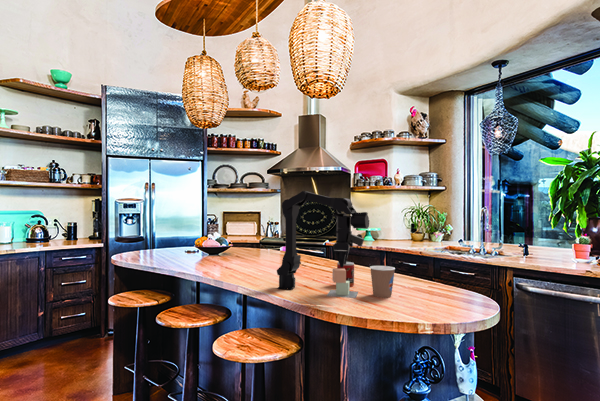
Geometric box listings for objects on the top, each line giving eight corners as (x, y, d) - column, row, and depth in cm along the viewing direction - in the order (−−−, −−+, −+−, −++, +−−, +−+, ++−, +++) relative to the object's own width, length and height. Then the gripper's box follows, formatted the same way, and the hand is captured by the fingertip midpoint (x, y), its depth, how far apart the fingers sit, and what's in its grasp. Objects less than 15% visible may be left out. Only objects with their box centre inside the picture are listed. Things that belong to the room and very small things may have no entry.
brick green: (335, 294, 151) (336, 282, 151) (337, 292, 156) (337, 280, 156) (348, 295, 150) (348, 283, 150) (349, 292, 154) (349, 280, 155)
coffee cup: (395, 300, 145) (396, 270, 145) (369, 298, 147) (369, 268, 147) (394, 294, 155) (394, 266, 155) (369, 293, 157) (369, 265, 157)
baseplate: (326, 297, 148) (326, 295, 148) (330, 291, 160) (330, 289, 160) (356, 299, 145) (356, 298, 145) (358, 293, 157) (358, 291, 157)
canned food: (348, 289, 165) (349, 264, 165) (333, 286, 170) (334, 262, 170) (357, 286, 171) (357, 262, 171) (342, 284, 176) (342, 261, 176)
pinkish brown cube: (333, 282, 150) (333, 270, 150) (332, 280, 155) (332, 268, 155) (345, 282, 150) (346, 270, 150) (344, 280, 155) (344, 268, 155)
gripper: (361, 229, 142) (361, 270, 142) (364, 227, 160) (364, 263, 160) (333, 228, 145) (332, 268, 144) (339, 227, 163) (338, 262, 163)
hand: (343, 265), depth 153 cm, fingers open, 9 cm apart
